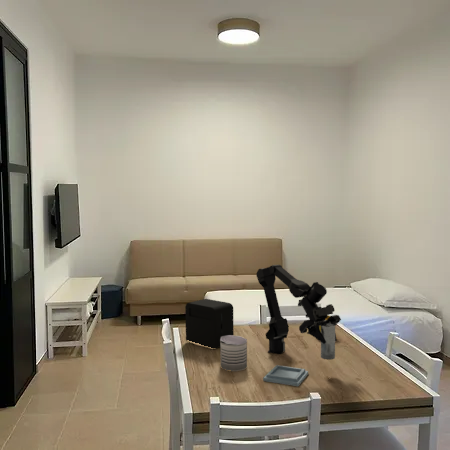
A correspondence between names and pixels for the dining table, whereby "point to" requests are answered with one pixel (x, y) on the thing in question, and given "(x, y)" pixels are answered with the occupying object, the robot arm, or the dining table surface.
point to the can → (233, 352)
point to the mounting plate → (286, 375)
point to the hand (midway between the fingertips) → (330, 341)
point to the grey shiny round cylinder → (328, 341)
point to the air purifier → (208, 321)
